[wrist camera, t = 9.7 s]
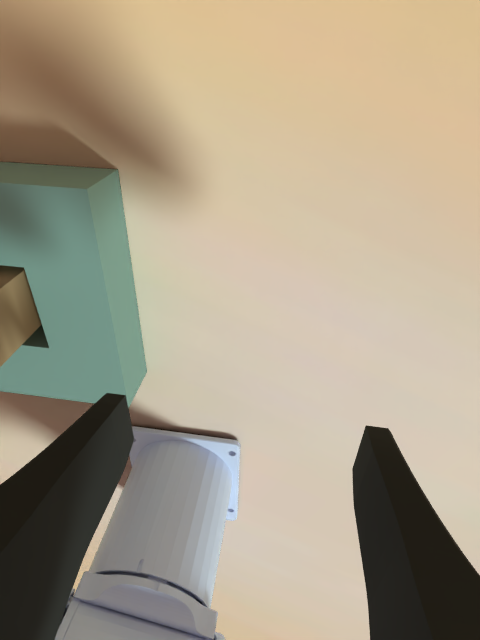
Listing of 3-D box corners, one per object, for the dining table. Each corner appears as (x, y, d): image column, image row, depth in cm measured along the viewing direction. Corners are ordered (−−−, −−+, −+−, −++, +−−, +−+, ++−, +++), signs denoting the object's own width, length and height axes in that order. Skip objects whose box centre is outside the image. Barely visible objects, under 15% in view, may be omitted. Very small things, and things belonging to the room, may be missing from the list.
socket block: (146, 371, 24) (128, 407, 22) (-33, 350, 26) (-69, 382, 23) (117, 169, 18) (86, 189, 15) (-125, 153, 19) (-190, 169, 16)
